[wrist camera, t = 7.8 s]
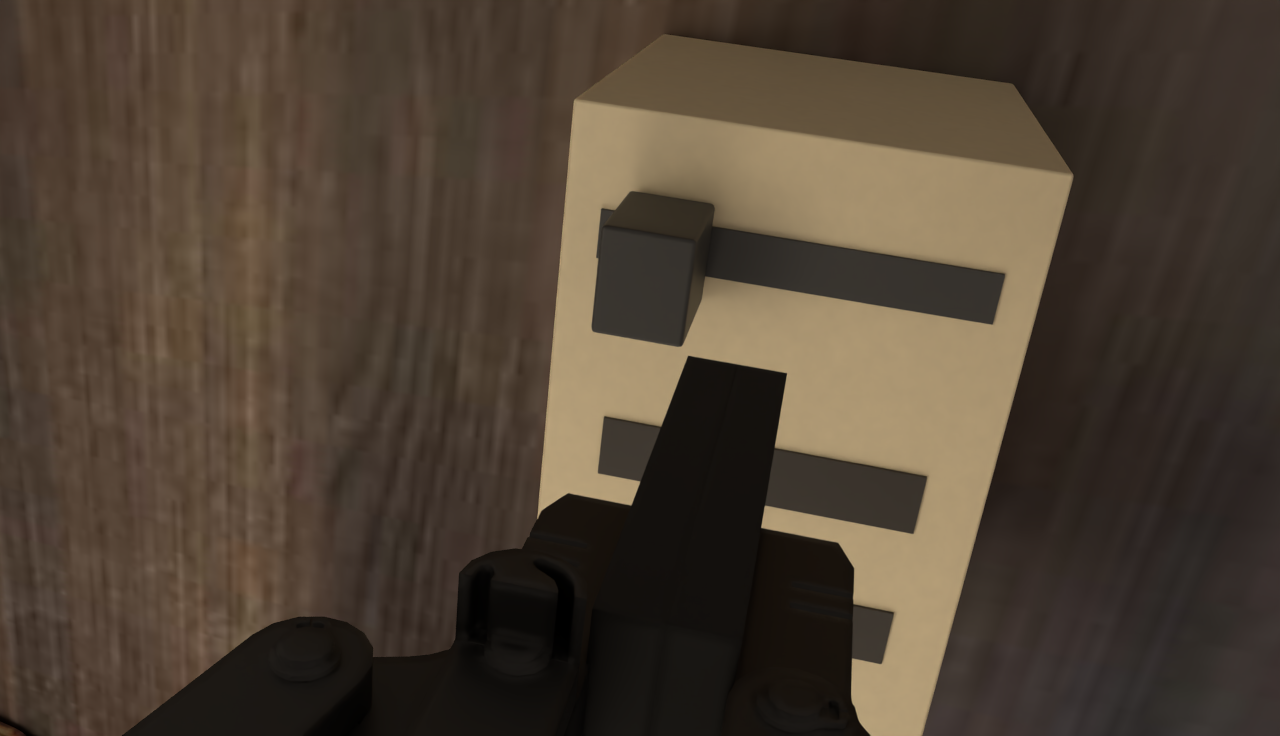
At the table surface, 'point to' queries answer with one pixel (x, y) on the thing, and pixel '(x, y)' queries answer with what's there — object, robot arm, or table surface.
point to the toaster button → (652, 268)
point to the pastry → (9, 730)
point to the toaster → (823, 309)
